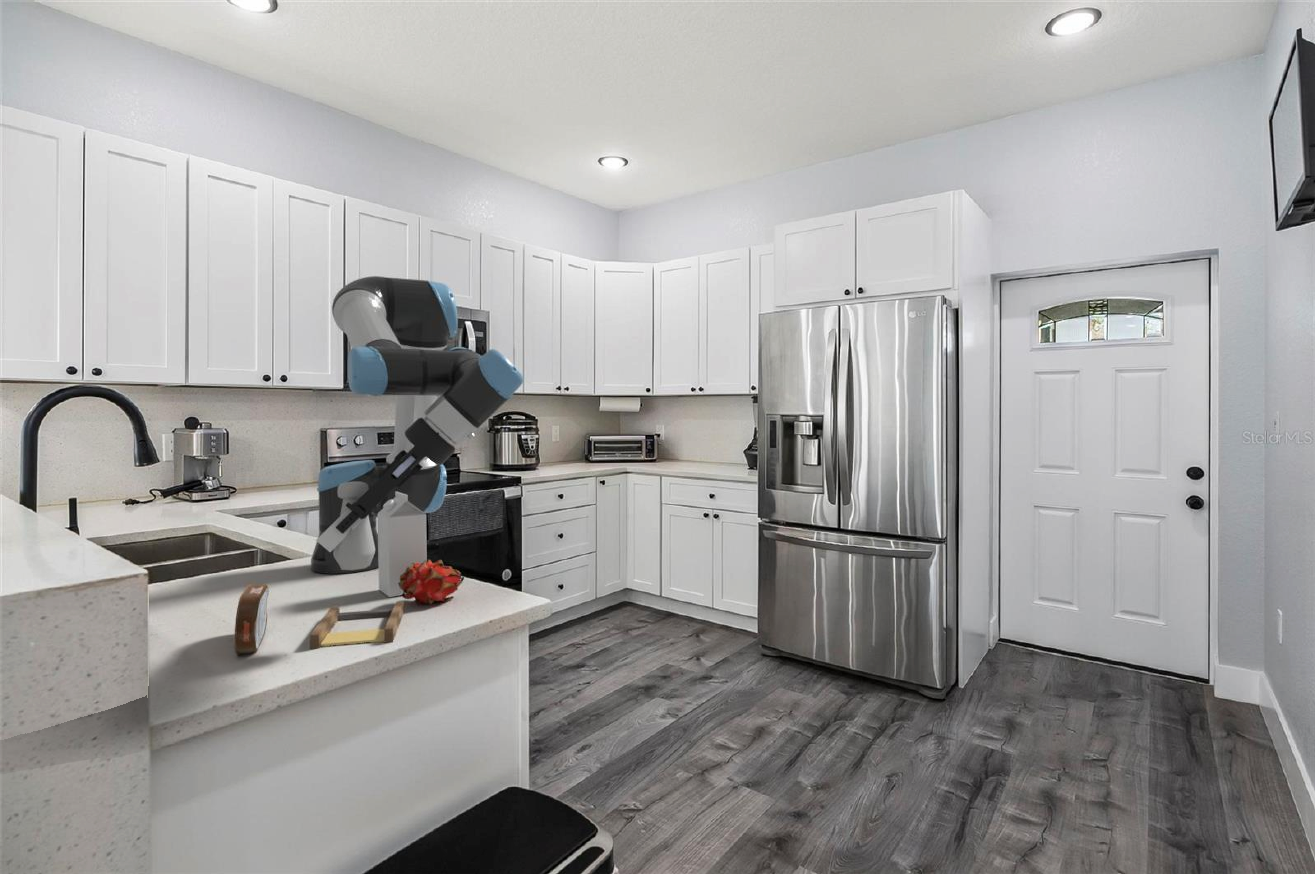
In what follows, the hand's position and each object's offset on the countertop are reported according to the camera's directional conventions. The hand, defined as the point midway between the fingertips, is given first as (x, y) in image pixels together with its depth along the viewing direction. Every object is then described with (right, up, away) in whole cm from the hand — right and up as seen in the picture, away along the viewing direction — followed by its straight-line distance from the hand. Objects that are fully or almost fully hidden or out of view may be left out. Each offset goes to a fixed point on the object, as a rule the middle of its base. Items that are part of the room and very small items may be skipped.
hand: (326, 543), depth 101 cm
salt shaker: (+4, -4, +1) cm, 6 cm away
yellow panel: (+4, -15, +2) cm, 15 cm away
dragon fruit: (+9, -14, +22) cm, 27 cm away
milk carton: (+1, -14, +29) cm, 32 cm away
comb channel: (+3, -15, +6) cm, 16 cm away
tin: (-11, -15, -1) cm, 19 cm away
